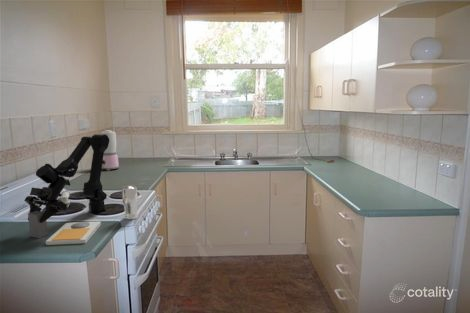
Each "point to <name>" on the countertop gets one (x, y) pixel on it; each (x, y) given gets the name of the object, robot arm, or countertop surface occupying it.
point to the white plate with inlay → (74, 233)
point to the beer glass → (130, 201)
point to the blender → (110, 152)
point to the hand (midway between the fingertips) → (34, 221)
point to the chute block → (37, 224)
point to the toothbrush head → (65, 197)
